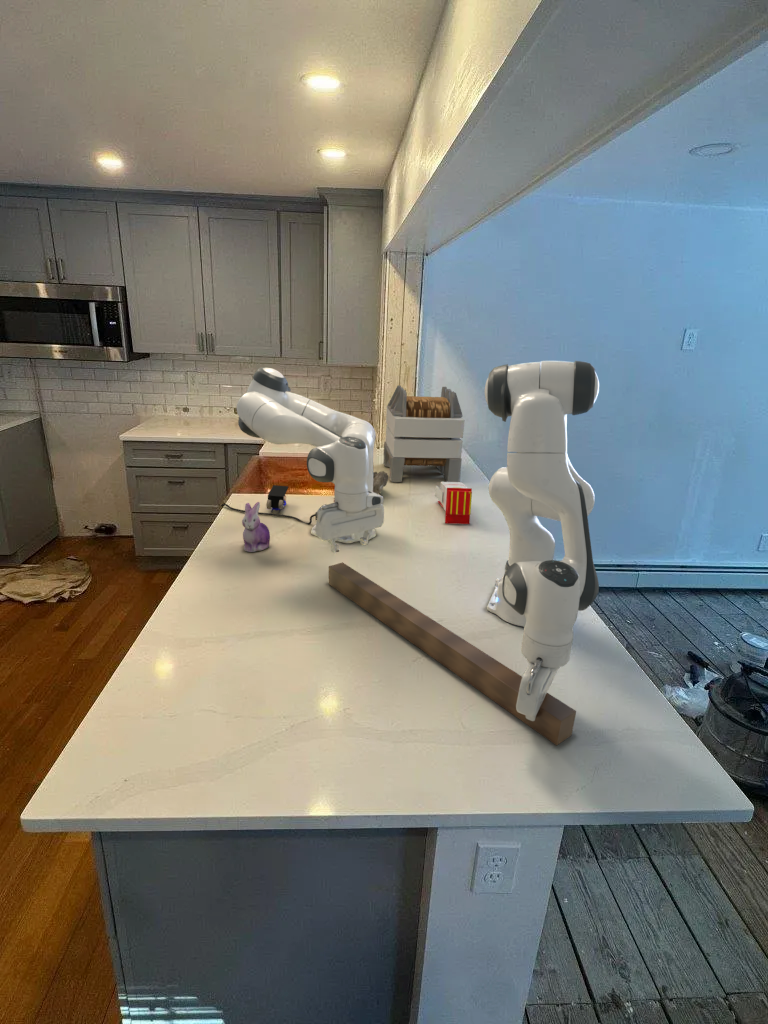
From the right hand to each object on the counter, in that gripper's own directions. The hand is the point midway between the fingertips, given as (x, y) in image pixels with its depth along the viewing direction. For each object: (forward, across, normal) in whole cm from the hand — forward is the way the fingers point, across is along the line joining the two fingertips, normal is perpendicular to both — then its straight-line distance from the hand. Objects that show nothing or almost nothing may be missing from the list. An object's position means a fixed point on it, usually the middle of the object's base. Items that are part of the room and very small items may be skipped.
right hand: (536, 707), depth 110 cm
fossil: (+3, +101, +97) cm, 140 cm away
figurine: (+3, +33, +100) cm, 105 cm away
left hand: (-10, +24, +59) cm, 65 cm away
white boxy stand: (+4, +145, +97) cm, 175 cm away
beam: (+3, +12, +29) cm, 32 cm away
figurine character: (+3, +65, +118) cm, 135 cm away
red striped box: (+3, +103, +62) cm, 120 cm away
